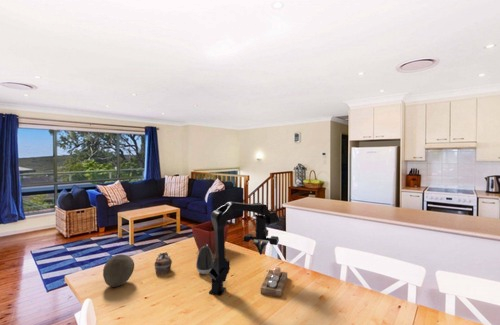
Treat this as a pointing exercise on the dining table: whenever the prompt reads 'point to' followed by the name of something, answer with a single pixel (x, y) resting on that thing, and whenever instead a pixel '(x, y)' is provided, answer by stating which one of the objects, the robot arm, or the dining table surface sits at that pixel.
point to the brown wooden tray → (280, 285)
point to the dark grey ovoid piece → (204, 260)
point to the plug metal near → (272, 283)
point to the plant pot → (206, 235)
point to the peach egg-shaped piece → (277, 271)
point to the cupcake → (163, 263)
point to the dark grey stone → (118, 270)
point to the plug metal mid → (275, 277)
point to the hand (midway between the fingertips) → (261, 254)
